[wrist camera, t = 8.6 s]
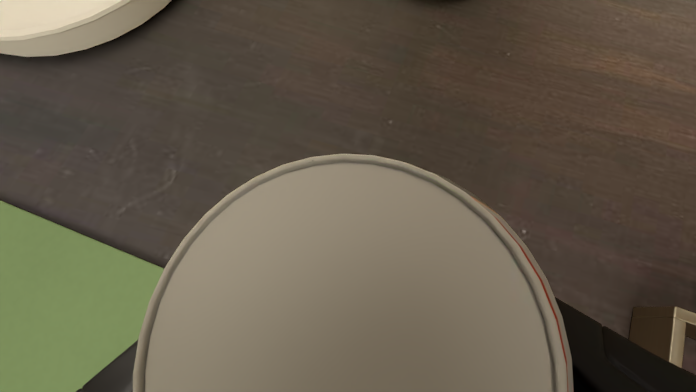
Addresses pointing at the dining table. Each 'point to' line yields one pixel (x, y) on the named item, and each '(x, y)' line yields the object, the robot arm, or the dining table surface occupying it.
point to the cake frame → (663, 331)
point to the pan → (68, 24)
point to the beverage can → (352, 291)
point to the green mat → (64, 303)
